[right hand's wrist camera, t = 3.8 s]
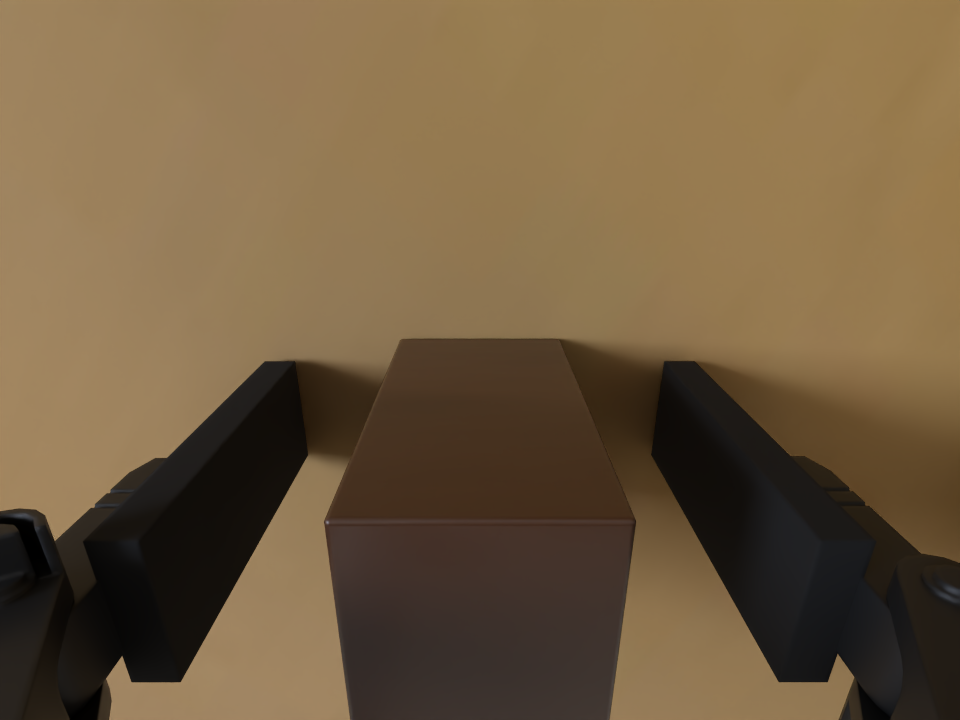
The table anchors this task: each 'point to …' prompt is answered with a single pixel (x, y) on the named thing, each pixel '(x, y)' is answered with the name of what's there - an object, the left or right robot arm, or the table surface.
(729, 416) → the right robot arm
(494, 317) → the table surface
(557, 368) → the walnut block
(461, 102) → the table surface
